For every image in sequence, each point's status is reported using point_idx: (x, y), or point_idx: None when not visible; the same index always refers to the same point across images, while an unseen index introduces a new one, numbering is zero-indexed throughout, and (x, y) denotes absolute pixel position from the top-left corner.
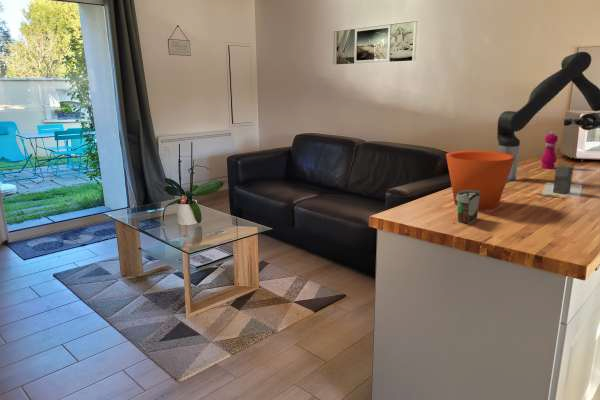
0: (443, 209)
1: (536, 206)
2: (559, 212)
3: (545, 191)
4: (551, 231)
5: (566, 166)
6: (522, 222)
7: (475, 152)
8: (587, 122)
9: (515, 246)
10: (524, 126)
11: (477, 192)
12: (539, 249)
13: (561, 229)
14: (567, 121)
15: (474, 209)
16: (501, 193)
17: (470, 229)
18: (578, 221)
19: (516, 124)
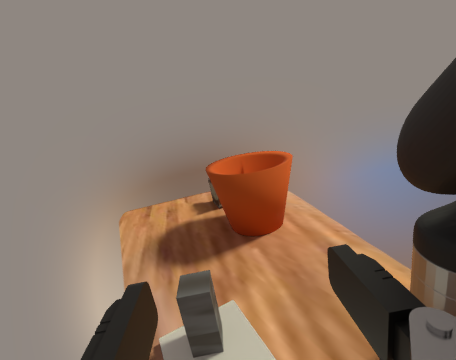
0: None
1: (202, 259)
2: (167, 262)
3: (239, 319)
4: (155, 226)
5: (193, 291)
6: (184, 223)
7: (279, 164)
8: (128, 292)
9: (166, 204)
10: (434, 180)
11: None
12: (151, 209)
13: (149, 233)
14: (341, 265)
15: (215, 196)
16: (226, 214)
17: (205, 199)
18: (139, 255)
19: (398, 153)
